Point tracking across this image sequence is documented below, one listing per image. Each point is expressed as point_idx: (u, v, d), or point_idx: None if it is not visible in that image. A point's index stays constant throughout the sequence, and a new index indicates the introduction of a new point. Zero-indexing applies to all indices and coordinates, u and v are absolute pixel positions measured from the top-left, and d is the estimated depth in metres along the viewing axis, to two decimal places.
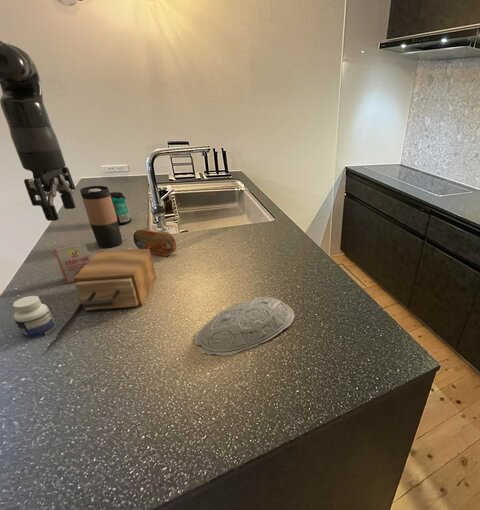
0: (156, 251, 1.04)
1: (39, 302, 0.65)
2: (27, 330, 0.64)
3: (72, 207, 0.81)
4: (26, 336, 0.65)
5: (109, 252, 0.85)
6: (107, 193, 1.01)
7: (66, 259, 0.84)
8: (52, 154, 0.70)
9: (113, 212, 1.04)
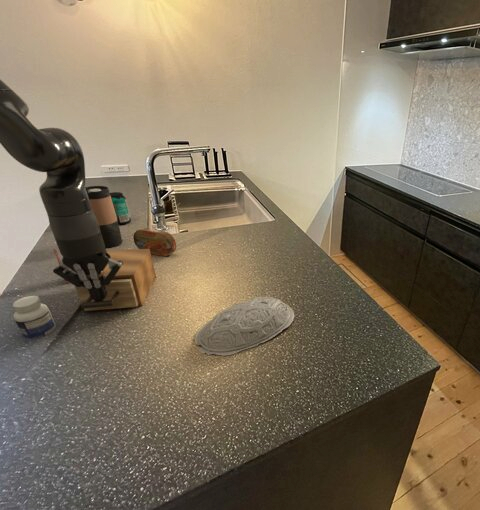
0: (156, 251, 1.04)
1: (39, 302, 0.65)
2: (27, 330, 0.64)
3: None
4: (26, 336, 0.65)
5: (109, 252, 0.85)
6: (107, 193, 1.01)
7: None
8: None
9: (113, 212, 1.04)
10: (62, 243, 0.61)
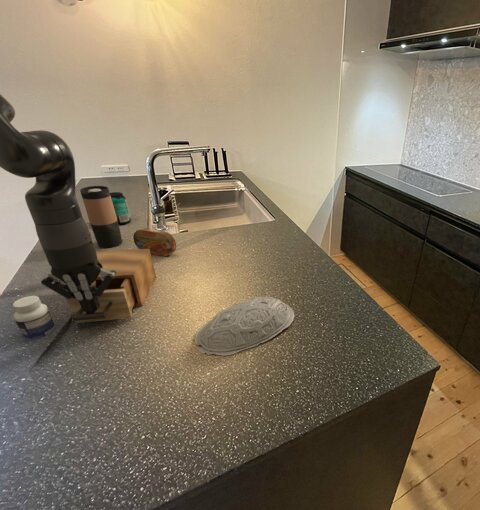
0: (156, 251, 1.04)
1: (39, 302, 0.65)
2: (27, 330, 0.64)
3: None
4: (26, 336, 0.65)
5: (109, 252, 0.85)
6: (107, 193, 1.01)
7: None
8: None
9: (113, 212, 1.04)
10: (50, 253, 0.57)
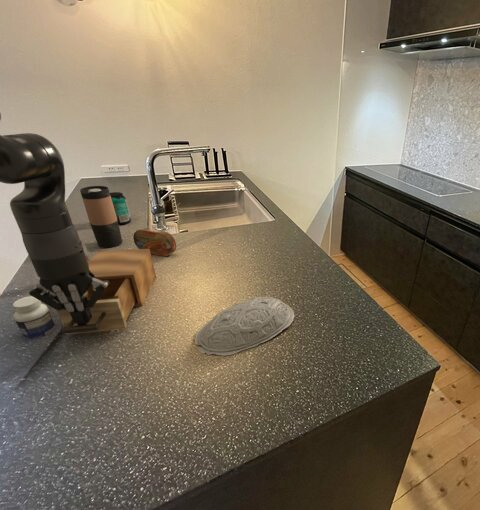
0: (156, 251, 1.04)
1: (39, 302, 0.65)
2: (27, 330, 0.64)
3: None
4: (26, 336, 0.65)
5: (109, 252, 0.85)
6: (107, 193, 1.01)
7: None
8: None
9: (113, 212, 1.04)
10: (38, 263, 0.54)
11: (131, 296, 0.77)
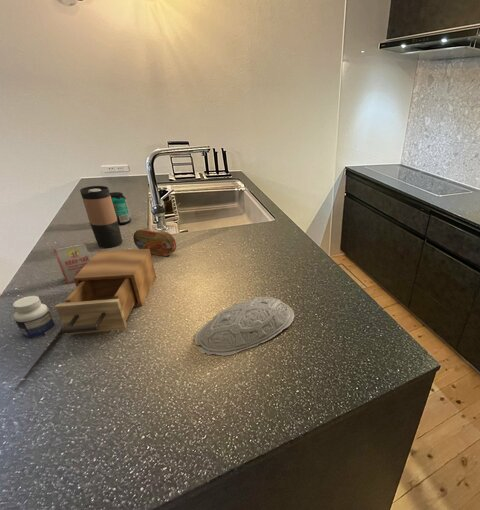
0: (156, 251, 1.04)
1: (39, 302, 0.65)
2: (27, 330, 0.64)
3: None
4: (26, 336, 0.65)
5: (109, 252, 0.85)
6: (107, 193, 1.01)
7: (66, 259, 0.84)
8: None
9: (113, 212, 1.04)
10: None
11: (130, 296, 0.77)
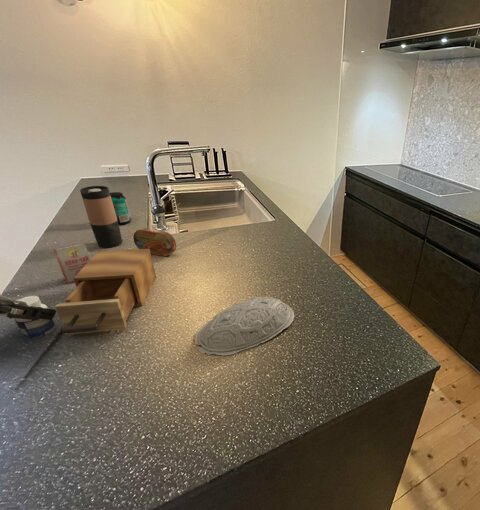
0: (156, 251, 1.04)
1: (39, 302, 0.65)
2: (27, 330, 0.64)
3: None
4: (26, 336, 0.65)
5: (109, 252, 0.85)
6: (107, 193, 1.01)
7: (66, 259, 0.84)
8: None
9: (113, 212, 1.04)
10: None
11: (130, 296, 0.77)
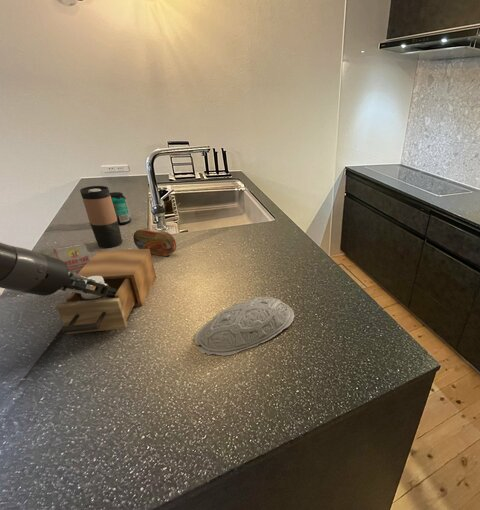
0: (156, 251, 1.04)
1: (103, 281, 0.70)
2: None
3: None
4: None
5: (109, 252, 0.85)
6: (107, 193, 1.01)
7: (66, 259, 0.84)
8: (49, 259, 0.58)
9: (113, 212, 1.04)
10: None
11: (131, 295, 0.77)
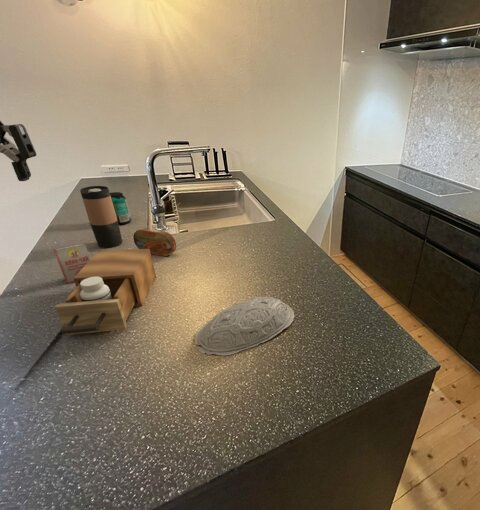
0: (156, 251, 1.04)
1: (102, 282, 0.69)
2: None
3: None
4: None
5: (109, 252, 0.85)
6: (107, 193, 1.01)
7: (66, 259, 0.84)
8: None
9: (113, 212, 1.04)
10: None
11: (130, 296, 0.76)
